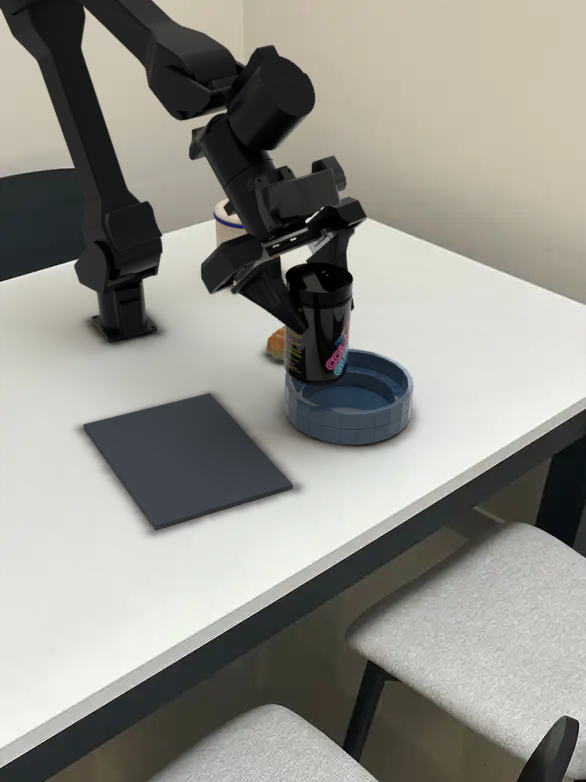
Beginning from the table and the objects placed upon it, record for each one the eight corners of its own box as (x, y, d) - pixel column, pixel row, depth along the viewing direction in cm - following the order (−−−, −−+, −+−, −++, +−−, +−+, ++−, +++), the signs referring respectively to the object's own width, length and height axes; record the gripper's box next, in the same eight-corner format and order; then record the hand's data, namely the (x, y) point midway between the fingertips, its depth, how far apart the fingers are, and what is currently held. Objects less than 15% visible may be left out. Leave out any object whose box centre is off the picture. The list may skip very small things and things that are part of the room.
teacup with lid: (271, 293, 130) (271, 206, 122) (207, 284, 131) (202, 196, 123) (294, 258, 139) (295, 174, 131) (233, 250, 140) (231, 166, 132)
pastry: (286, 371, 115) (286, 342, 112) (254, 349, 119) (253, 320, 116) (347, 350, 120) (348, 322, 117) (314, 329, 123) (315, 301, 121)
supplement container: (320, 396, 98) (324, 299, 91) (270, 372, 101) (270, 276, 94) (360, 371, 102) (367, 276, 95) (310, 349, 105) (314, 256, 98)
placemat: (83, 428, 104) (82, 424, 104) (209, 396, 110) (209, 392, 110) (155, 529, 92) (155, 525, 92) (292, 488, 98) (292, 484, 98)
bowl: (263, 397, 111) (262, 364, 108) (367, 370, 116) (370, 338, 113) (324, 460, 102) (325, 426, 99) (433, 428, 108) (438, 395, 105)
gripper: (216, 151, 82) (306, 318, 85) (359, 110, 92) (435, 259, 95) (162, 216, 91) (245, 365, 94) (299, 171, 101) (369, 306, 104)
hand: (327, 322), depth 96 cm, fingers closed on supplement container, 7 cm apart
